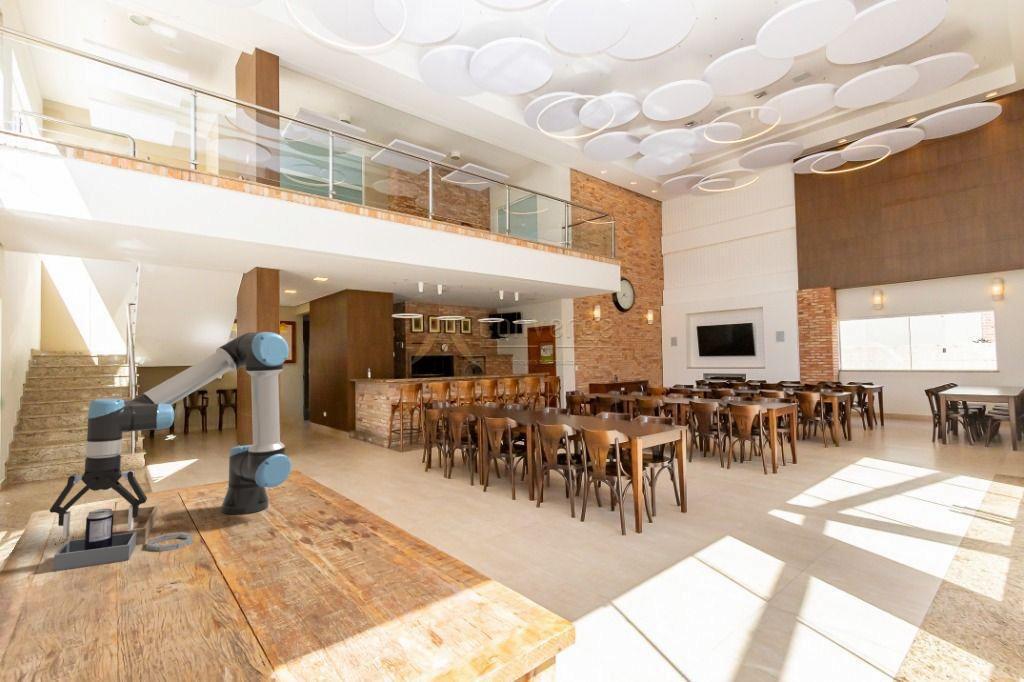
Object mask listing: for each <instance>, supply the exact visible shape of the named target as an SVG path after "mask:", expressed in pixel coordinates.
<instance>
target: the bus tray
mask: <svg viewBox="0 0 1024 682" xmlns="http://www.w3.org/2000/svg"><path fill="white" fill-rule="evenodd" d="M136 536H137V532H132V533H124V534H116V535H112V547H107V548H99V549H92V550H84V549H85V538H77V539H70V540H67V541H66V542H65V543H64V544H63V545H62V546H61V547H60V548H59V550H58V551H57V552H56V553H55V554H54V558H53V572H57V571H56V570H58V571H63V570H64V569H65V570H70V569H77V568H85V567H91V566H98V565H104V564H111V563H118V562H125V561H129V560H130V558H131V556H132V554H133V553H134V551H135V549H136V547H137V545H136ZM65 570H64V571H65Z"/></svg>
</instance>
